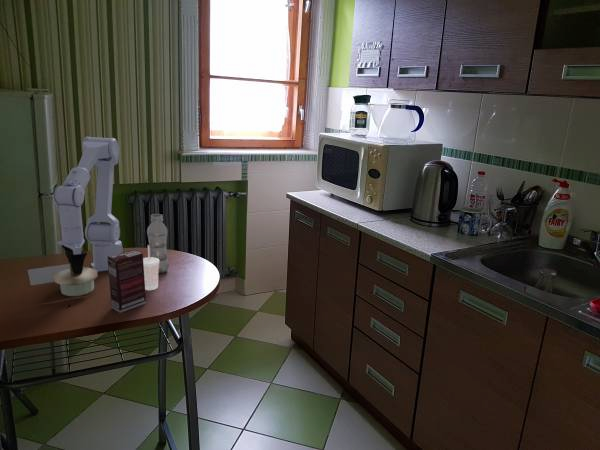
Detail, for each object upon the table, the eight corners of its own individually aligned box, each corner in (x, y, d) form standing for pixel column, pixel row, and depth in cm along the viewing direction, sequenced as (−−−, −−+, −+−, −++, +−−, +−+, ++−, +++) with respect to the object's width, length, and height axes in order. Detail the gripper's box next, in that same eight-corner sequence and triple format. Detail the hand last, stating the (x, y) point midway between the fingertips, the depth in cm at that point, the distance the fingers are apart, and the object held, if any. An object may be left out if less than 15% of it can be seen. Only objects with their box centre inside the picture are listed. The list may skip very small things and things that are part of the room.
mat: (73, 264, 163) (73, 263, 163) (80, 278, 152) (80, 277, 152) (27, 271, 155) (27, 269, 155) (30, 286, 144) (30, 285, 144)
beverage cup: (160, 282, 152) (158, 241, 148) (160, 290, 146) (159, 248, 142) (140, 284, 150) (138, 242, 146) (140, 292, 145) (137, 249, 140)
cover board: (94, 267, 150) (93, 254, 149) (100, 281, 140) (99, 267, 139) (52, 273, 144) (51, 259, 143) (55, 288, 134) (53, 273, 133)
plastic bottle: (166, 276, 157) (164, 218, 151) (146, 274, 157) (143, 217, 151) (171, 268, 163) (169, 213, 157) (152, 267, 163) (149, 212, 158)
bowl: (91, 282, 149) (90, 269, 148) (96, 293, 142) (95, 279, 141) (59, 287, 145) (58, 274, 143) (63, 299, 137) (61, 285, 136)
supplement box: (137, 298, 140) (134, 248, 136) (146, 303, 137) (144, 253, 133) (110, 308, 134) (106, 255, 129) (119, 313, 131) (115, 260, 126)
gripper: (53, 221, 141) (58, 263, 145) (59, 235, 129) (64, 280, 133) (79, 218, 145) (82, 259, 149) (87, 231, 133) (91, 276, 137)
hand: (75, 269), depth 141 cm, fingers open, 7 cm apart
